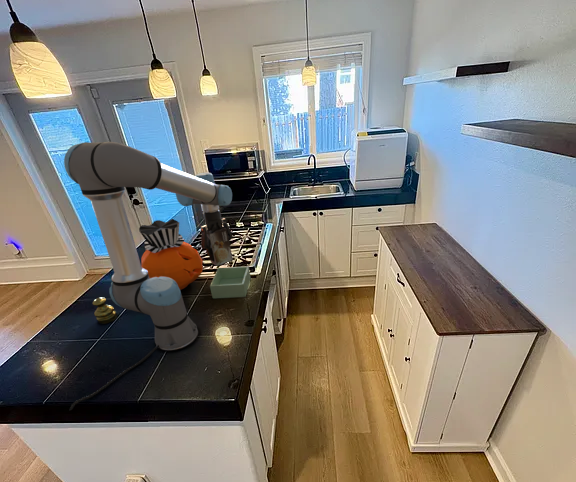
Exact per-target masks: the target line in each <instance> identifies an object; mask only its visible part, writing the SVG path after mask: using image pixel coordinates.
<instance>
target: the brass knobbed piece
mask: <svg viewBox="0 0 576 482" xmlns="http://www.w3.org/2000/svg"><path fill="white" fill-rule="evenodd" d="M106 302H107V298H105V297H97V298H96V299H94V300H93V301H92V305H93V306H96V307H97V308H96V309H95V311H94V313H93V314H94V317H95V319H96V320H97V322H98V323H99V324H101V325H106V324H107V325H108V324H110V323H112V322H114V321H115V320H116V319H117V318H118V314H117V311H116V310H115V307H114V306H113V305H110V304H106Z"/></svg>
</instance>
